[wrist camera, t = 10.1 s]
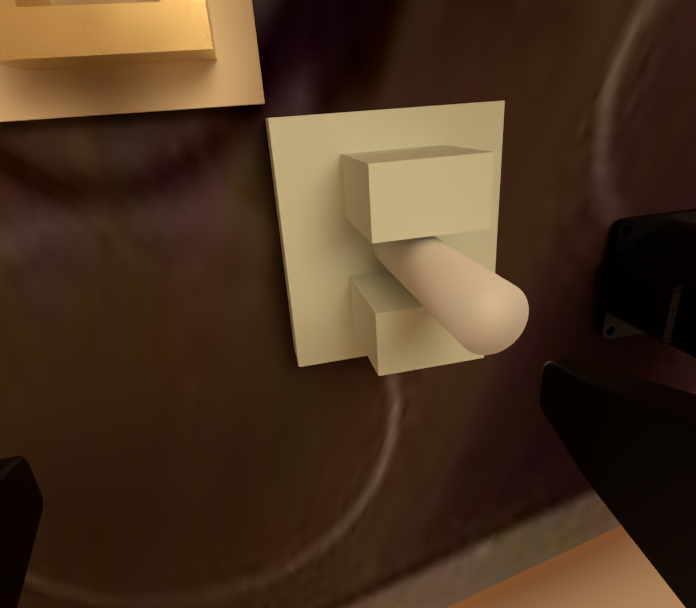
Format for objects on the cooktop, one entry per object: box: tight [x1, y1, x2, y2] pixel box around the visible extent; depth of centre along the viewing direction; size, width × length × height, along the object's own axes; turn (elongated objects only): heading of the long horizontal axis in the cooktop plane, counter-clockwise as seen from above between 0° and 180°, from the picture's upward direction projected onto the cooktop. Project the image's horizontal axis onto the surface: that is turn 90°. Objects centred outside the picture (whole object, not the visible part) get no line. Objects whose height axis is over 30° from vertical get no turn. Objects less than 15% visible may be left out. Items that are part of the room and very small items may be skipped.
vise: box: [265, 101, 529, 376], centre depth 16 cm, size 9×10×10 cm
